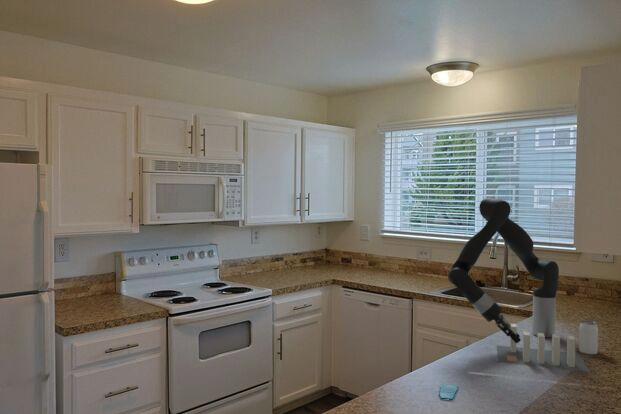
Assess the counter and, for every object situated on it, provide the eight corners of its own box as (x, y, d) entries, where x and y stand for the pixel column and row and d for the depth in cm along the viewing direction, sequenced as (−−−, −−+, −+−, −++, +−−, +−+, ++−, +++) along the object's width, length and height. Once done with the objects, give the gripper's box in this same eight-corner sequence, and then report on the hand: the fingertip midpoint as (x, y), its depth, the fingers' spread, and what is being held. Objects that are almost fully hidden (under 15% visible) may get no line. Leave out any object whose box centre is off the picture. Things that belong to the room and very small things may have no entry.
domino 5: (566, 362, 191) (567, 335, 190) (572, 362, 190) (573, 335, 190) (568, 366, 186) (569, 338, 186) (574, 367, 185) (575, 339, 185)
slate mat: (496, 346, 211) (496, 345, 211) (578, 354, 201) (578, 353, 201) (497, 363, 190) (497, 361, 190) (589, 373, 181) (589, 371, 181)
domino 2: (522, 357, 195) (523, 331, 195) (528, 358, 195) (529, 331, 194) (523, 361, 191) (524, 334, 190) (529, 362, 190) (530, 335, 190)
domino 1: (510, 348, 207) (510, 323, 207) (515, 348, 206) (516, 324, 206) (510, 351, 202) (511, 326, 202) (516, 352, 202) (516, 327, 201)
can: (580, 349, 209) (581, 319, 208) (598, 352, 204) (599, 322, 204) (577, 352, 204) (577, 322, 203) (595, 356, 199) (596, 325, 199)
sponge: (433, 396, 157) (453, 397, 155) (440, 383, 168) (458, 384, 166) (433, 401, 157) (453, 402, 155) (440, 388, 168) (459, 389, 166)
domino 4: (551, 360, 192) (552, 334, 192) (557, 361, 192) (558, 334, 191) (553, 364, 187) (554, 337, 187) (559, 365, 187) (560, 338, 187)
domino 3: (537, 359, 194) (537, 332, 194) (542, 359, 193) (543, 333, 193) (538, 363, 189) (538, 336, 189) (544, 363, 188) (544, 336, 188)
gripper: (494, 304, 199) (527, 338, 196) (493, 297, 213) (524, 329, 210) (479, 317, 201) (512, 351, 198) (480, 309, 215) (510, 340, 211)
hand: (518, 339), depth 204 cm, fingers closed on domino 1, 5 cm apart
